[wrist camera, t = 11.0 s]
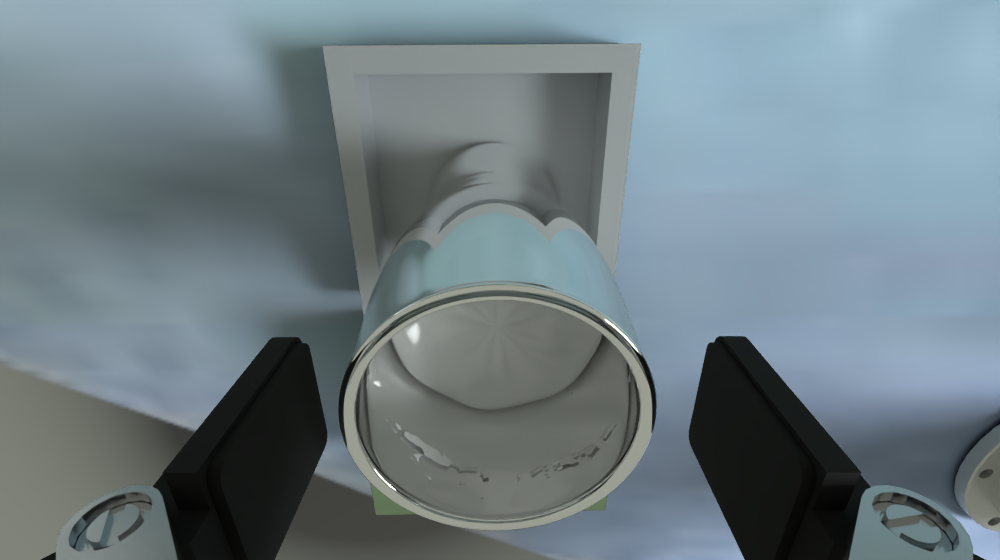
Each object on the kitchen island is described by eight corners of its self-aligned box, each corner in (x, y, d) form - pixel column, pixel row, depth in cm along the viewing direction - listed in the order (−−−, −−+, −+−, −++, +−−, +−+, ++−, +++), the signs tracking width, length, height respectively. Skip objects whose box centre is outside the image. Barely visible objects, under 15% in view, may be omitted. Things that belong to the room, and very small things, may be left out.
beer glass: (435, 278, 25) (373, 552, 12) (407, 142, 22) (277, 299, 8) (568, 261, 25) (663, 522, 11) (559, 122, 22) (674, 251, 8)
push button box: (621, 43, 21) (685, 44, 14) (584, 427, 31) (612, 538, 24) (343, 45, 21) (272, 46, 14) (396, 431, 30) (369, 543, 24)
